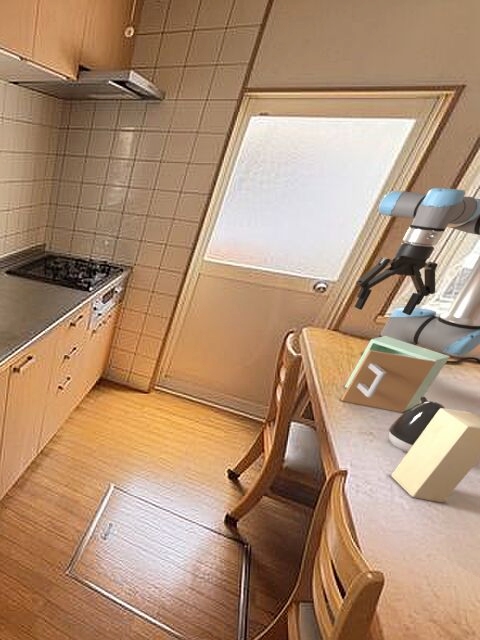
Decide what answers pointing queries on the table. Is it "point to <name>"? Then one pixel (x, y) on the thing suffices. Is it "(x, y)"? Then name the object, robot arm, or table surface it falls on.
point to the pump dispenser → (412, 424)
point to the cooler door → (387, 380)
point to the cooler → (409, 350)
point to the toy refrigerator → (441, 455)
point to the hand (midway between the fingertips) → (381, 311)
